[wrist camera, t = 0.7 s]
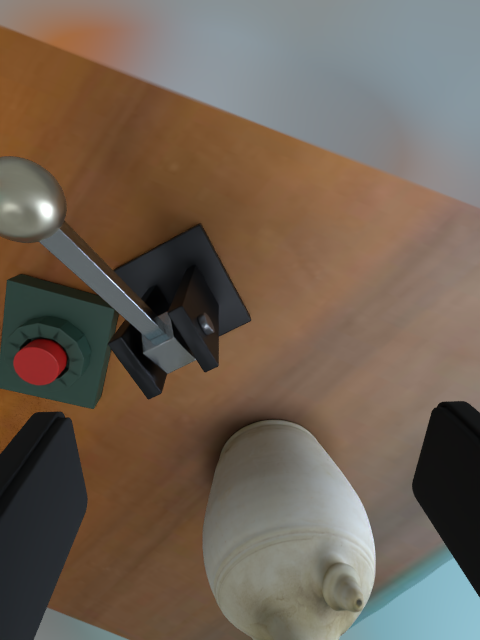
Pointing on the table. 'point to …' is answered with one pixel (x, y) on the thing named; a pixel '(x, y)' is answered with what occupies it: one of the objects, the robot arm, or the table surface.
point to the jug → (286, 537)
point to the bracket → (179, 303)
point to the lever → (80, 255)
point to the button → (40, 361)
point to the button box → (58, 337)
